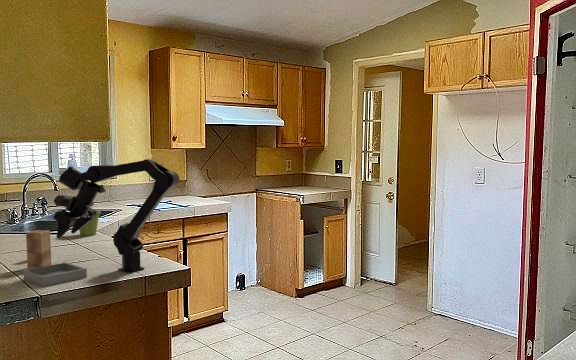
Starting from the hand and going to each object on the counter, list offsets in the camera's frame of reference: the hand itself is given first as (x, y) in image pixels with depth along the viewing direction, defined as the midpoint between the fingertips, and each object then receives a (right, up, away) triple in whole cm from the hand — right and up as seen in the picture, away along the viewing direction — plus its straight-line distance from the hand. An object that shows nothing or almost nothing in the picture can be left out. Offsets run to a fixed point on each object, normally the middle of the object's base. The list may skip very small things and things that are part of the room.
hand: (65, 235), depth 173 cm
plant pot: (-19, -7, +67) cm, 70 cm away
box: (+3, -13, -13) cm, 18 cm away
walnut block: (-10, -12, +1) cm, 15 cm away
